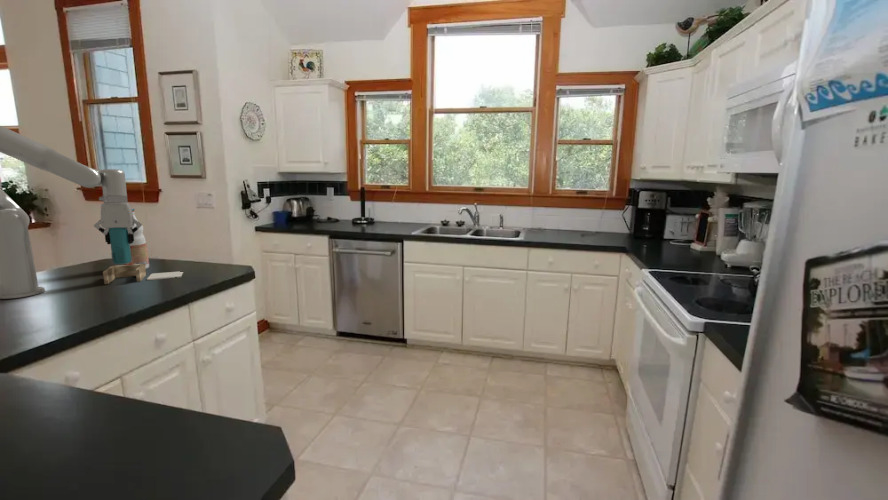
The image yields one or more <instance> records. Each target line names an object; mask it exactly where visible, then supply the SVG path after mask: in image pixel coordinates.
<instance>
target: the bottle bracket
mask: <svg viewBox="0 0 888 500" xmlns="http://www.w3.org/2000/svg"><path fill="white" fill-rule="evenodd" d="M146 275H147V268H146V267H145V264H135V265H124V264H119V265H111V266H109V267H108V268H106V269H105V270H103V271H102V276H103V283H104V285H109V284H111V282H113V281H114V280H115V279H116V278H127V277H136V278H135V279H136V282H141V281H142V280H143V279H144V278H145V277H146Z"/></svg>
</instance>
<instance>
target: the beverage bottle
mask: <svg viewBox="0 0 888 500" xmlns="http://www.w3.org/2000/svg"><path fill="white" fill-rule="evenodd" d="M116 222H117V221H115V223H116ZM109 235H110V243H111V244H110V250H111V252H110V253H111V261H112V263H113V264H115V265H116V264H117V265H124V264H125V263H130V262H131V261H132V258H131V256H132V255H131V250H130V249H131V247H130V243H129V239H128V230H127V229H126V228H110V229H109Z"/></svg>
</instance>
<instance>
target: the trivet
mask: <svg viewBox="0 0 888 500" xmlns="http://www.w3.org/2000/svg"><path fill="white" fill-rule="evenodd" d="M183 274H184V272H180V271H171V272H169V271H168V272H155V273H151V274H150V275H149V276H148V277H147V278H146V280H147V281H151V280H153V281H156V280H163V279H164V280H165V279H166V280H167V279H174V278H175V277H177V278H182V275H183ZM175 279H176V278H175Z"/></svg>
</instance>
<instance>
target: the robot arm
mask: <svg viewBox="0 0 888 500" xmlns="http://www.w3.org/2000/svg"><path fill="white" fill-rule="evenodd" d="M0 153H1V154H4V155H7V156H8V157H11V158H13V159H16V160H17V161H21V162H23V163H25V164H27V165H30V166H32V167H35V168H37V169H38V170H39V169H40V170H41V171H45V172H47V173H51V174H53V175H56V176H58V177H60V178H62V179H65V180H67V181H70V182H72V183H74V184H77V185H79V186H81V187H83V188H86V189H87V188H89V189H90V188H95V187H102V196H100V197H99V196H98V201H102V202H103V203H101V206H100V220H97V222H96V223H95V224H93V227H94V228H96V230H98V231H99V232H101V233H102V234H103V235H104V239H105V243H107V245H111V243H110V235H109V229H110V228H126V229H127V230H128V232H129V234H128V239H129V243H130V244H131V243H133V241H134V234H133V233H134V232H136V231H137V230H138V229H139V228H140V227H141V226H142V225H143V224H142V223H141V222H138V221H139V220H138V219H137V220H138V221H137V220H135V219H134V218H133V213H132V209H133V208H132V206H131V204H130V203H129V202H128V193H127V192H128V191H127V183H126V182H127V181H126V174H125V171H124V170H122V169H116V168H115V169H114V168H112V169H111V168H105V169H99V168H98V169H96V168H92V167H89V166H88V165H84V164H82V163H81V162H78V161H76V160H74V159H72V158H70V157H67V156H65V155H64V154H61V153H60V152H58V151H56V150H54V149H53V148H51V147H49V146H47V145H45V144H42V143H40V142H38V141H36V140H33V139H32V138H29V137H28V136H25V135H23V134H20V133H18V132H16V131H13V130H12V129H9V128H7V127H4V126H2V125H0ZM30 221H31V219H30V217H29V215H28V214H27V212H25V211H24V209H22V207H20V206H19V205H18V204H17V202H15V201H14V200H13V199H12V197H10V196H9V194H7V193H6V192H5V191H4V190H3V189H1V188H0V300H1V299H3V300H5V299H6V300H7V299H18V298H19V299H20V298H25V297H26V298H27V297H31V296H35V295H39V294H42V293H44V292H45V291H46V289H45V287H43V286H39V282H38V277H37V270H36V264H35V259H34V252H33V247H32V243H31V238H30V233H29V232H30V231H29V225H30ZM115 221H117V222H116V223H115ZM134 223H135V224H136V227H135V228H134V229H132V227H131V226H134Z"/></svg>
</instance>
